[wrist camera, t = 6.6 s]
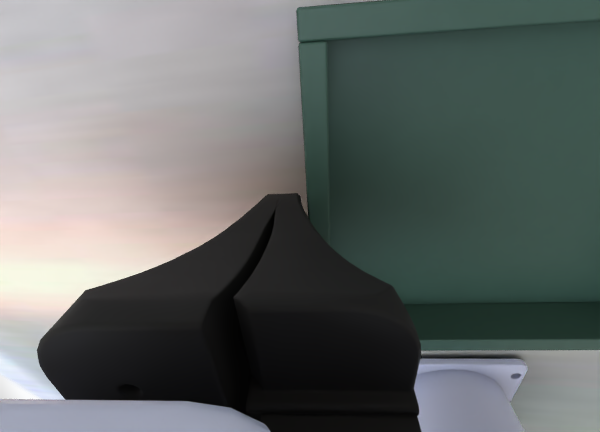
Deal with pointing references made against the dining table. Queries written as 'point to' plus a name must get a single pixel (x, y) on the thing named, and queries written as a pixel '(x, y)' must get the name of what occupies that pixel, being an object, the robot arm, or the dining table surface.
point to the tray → (461, 162)
